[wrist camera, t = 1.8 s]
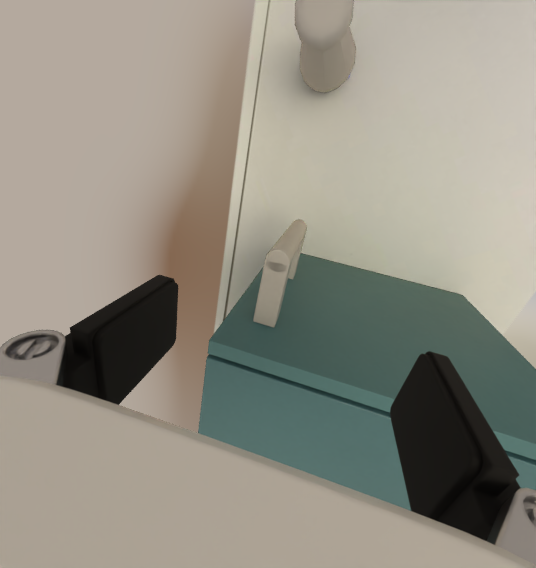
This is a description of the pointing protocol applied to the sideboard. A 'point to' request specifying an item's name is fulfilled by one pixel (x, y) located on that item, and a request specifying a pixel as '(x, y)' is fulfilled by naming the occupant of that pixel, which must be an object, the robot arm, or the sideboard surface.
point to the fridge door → (373, 337)
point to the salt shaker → (325, 42)
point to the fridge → (311, 430)
